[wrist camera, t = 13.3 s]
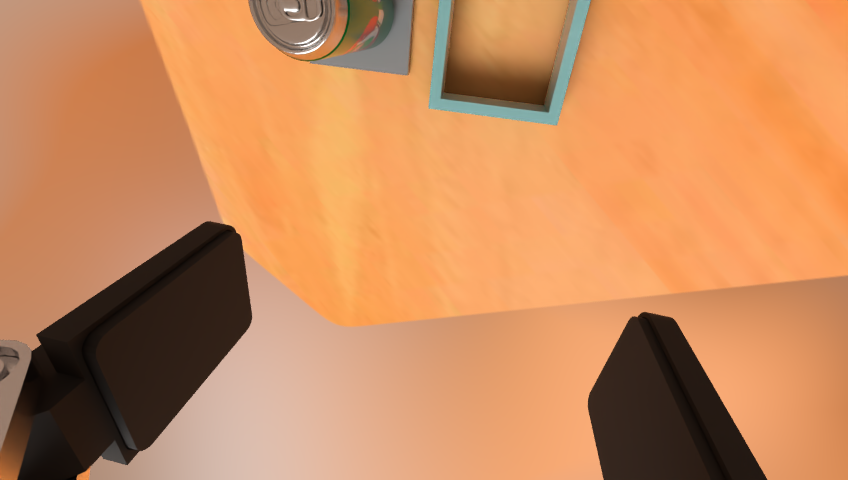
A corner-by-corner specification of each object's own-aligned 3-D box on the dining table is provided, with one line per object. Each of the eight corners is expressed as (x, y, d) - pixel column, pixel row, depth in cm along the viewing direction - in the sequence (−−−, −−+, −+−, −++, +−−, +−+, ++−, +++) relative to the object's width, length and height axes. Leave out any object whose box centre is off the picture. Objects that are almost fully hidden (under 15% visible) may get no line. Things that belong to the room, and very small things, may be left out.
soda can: (325, -30, 27) (228, -63, 17) (394, -31, 27) (336, -64, 17) (333, 48, 30) (252, 62, 20) (396, 50, 29) (347, 64, 19)
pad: (417, -49, 27) (416, -51, 26) (408, 74, 31) (407, 75, 30) (307, -60, 27) (303, -62, 27) (313, 62, 31) (309, 63, 31)
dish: (588, -28, 26) (599, -34, 23) (551, 116, 31) (557, 125, 28) (448, -42, 27) (444, -49, 24) (433, 101, 31) (428, 108, 29)
